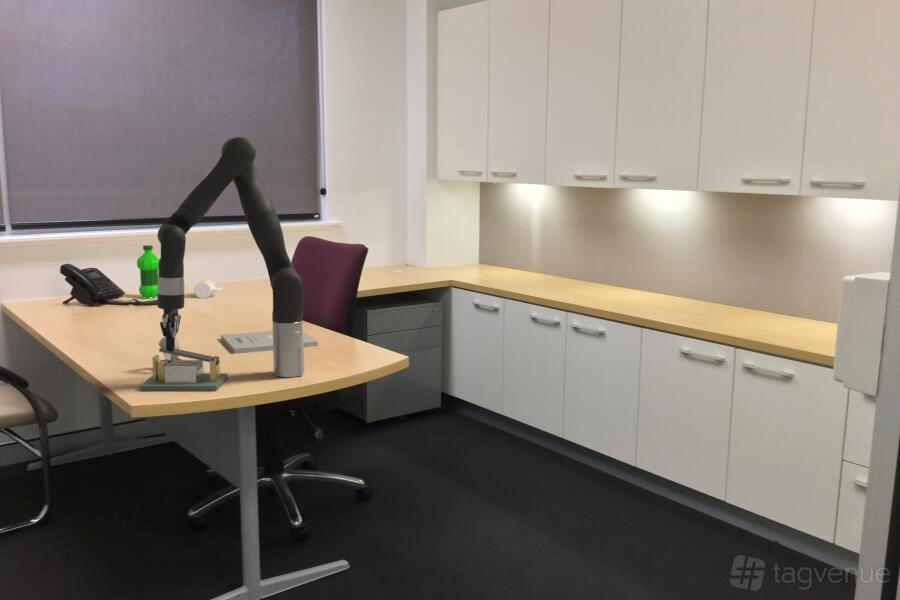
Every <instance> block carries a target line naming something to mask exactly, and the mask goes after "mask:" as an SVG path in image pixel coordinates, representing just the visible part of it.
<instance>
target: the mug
mask: <svg viewBox="0 0 900 600" xmlns="http://www.w3.org/2000/svg"><path fill="white" fill-rule="evenodd" d="M193 289H194V290H193V291H194V295H195V296H196V297H197V298H199V299H207V298H209V296H211V295H212V294H213V293H214V292H220V291H222V289H223V288H222V287H221V286H216V284H215V283H214V281H212V280H211V279H206V278H204V279H202V280H201V281H199V282H198V283H196V285H195V286H194V288H193Z"/></svg>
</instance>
